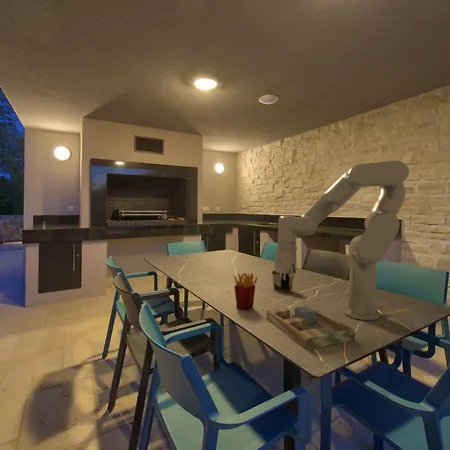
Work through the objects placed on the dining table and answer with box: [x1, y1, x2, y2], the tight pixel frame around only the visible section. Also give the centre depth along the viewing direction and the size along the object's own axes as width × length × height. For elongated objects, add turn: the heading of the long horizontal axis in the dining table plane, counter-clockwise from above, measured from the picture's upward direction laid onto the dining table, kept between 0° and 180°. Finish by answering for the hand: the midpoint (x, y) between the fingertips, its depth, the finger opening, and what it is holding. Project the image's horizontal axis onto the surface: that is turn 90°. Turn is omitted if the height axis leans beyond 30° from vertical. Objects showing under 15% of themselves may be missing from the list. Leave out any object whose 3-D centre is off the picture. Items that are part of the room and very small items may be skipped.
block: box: [293, 305, 318, 325], centre depth 107 cm, size 6×6×4 cm
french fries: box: [233, 272, 258, 312], centre depth 121 cm, size 9×8×15 cm
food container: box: [271, 269, 295, 294], centre depth 145 cm, size 12×6×10 cm, turn 47°
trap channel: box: [266, 304, 356, 351], centre depth 100 cm, size 18×26×4 cm
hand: (284, 288), depth 119 cm, fingers closed
